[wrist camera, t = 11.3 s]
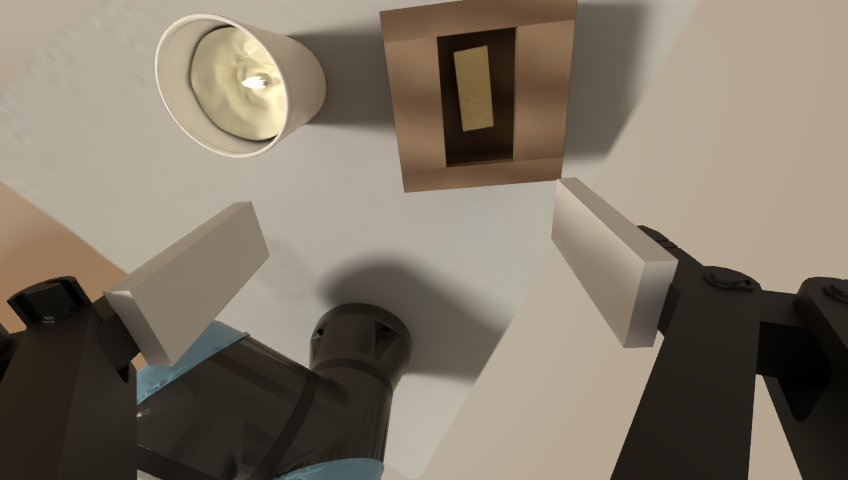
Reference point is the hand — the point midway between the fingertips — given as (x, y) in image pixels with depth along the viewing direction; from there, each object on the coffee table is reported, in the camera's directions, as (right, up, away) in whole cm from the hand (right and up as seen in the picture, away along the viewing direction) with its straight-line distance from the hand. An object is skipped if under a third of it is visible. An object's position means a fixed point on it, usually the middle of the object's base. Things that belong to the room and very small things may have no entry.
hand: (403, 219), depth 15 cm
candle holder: (-13, +16, +21) cm, 29 cm away
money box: (+6, +14, +20) cm, 26 cm away
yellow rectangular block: (+6, +15, +20) cm, 25 cm away
